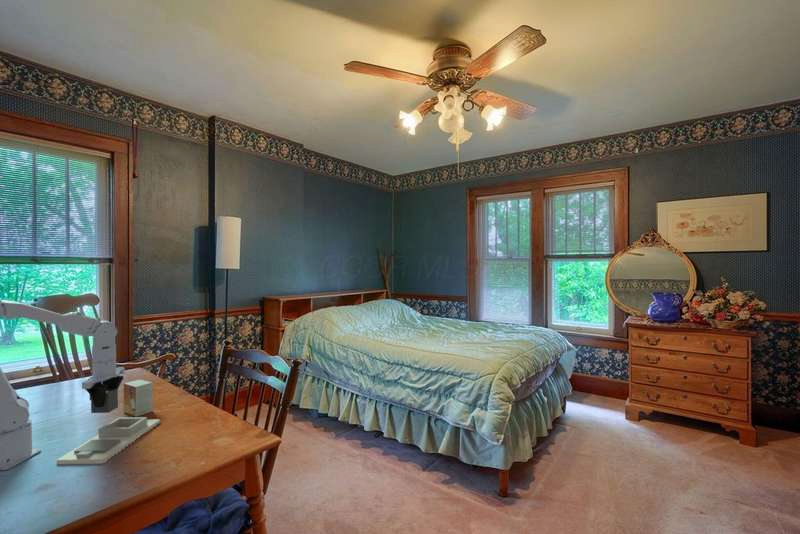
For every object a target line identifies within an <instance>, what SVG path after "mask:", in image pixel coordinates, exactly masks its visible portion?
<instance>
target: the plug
mask: <svg viewBox="0 0 800 534" xmlns="http://www.w3.org/2000/svg"><path fill="white" fill-rule="evenodd" d="M118 390H119V388H113V389H107V390H106V394H105V403H104V406H103V407H95V405H94V402H93V400H92V398H91V396H90V395H89V401H90V411H91V412H90V413H91V414H104V413H106V414H107V413H108V414H109V413H111V412H112V411H114V410H115V409H118V408H119V398H118V396H119V395H118V394H119V392H118Z"/></svg>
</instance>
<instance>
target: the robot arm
mask: <svg viewBox="0 0 800 534" xmlns="http://www.w3.org/2000/svg"><path fill="white" fill-rule="evenodd" d="M3 317H5V318H4V319H5V321H8V320H14V319H19V318H20V319H22V318H23V319H27V320H32V321H37V322H41V323H46V324H50V325H51V324H52V325H55V326H58V328H59V330H60V331H61V332H65V333H69V334H72V335H77V336H82V337H84V338H85V337H86V338H89V337H92V347H91V361H92V363H91V367H92V369H91V370H92V373H91V374H92V375H91V376H90V377H88V378H87V379H86V380H84V381H81V389H82V390H85V391H86V392H87V393H88V394H89V397H90V396H91V398H92V400H93V402H94V405H95V407H103V406H104V403H105V394H106V390H107V389H113V388H118V389H119V387H120V386H121V383H122V382H123V380H124V376H123V374H125V371H126V370H125V369H126V368H125V366H124V367H123V366H119V367H117V344H116V337H117V334H118V332H119V330H118V329H117V326H116V325H115V324H114V323H112V322H111V321H109V320H106V319H102V318H101V317H99V316H97V317H92V316H87V315H85V314H83V312H81V311H76V312H74V311H73V312H72V311H70V312H67V313H65V314H61V313H58V312H54V311H51V310H48V309H45V308H40V307H38V306H33V305H30V304H28V303H24V302H17V301H13V300H8V299H7V300H6V299H2V300H0V320H1V319H2V318H3ZM29 407H30V404H29V402H28V400H27V399H25V398H23V397H21V396H20V395H19V394H18V393H17V391H16V390H15V389H14V388H13V387H12V385H11V383H10V381H9V380H8V378H7V376H6V375H5V373H4V371H3V369H2V368H1V367H0V471H7V470H10V469H11V468H13V467H15V466H17V465H19V464H20V463H23V462H24V461H26V460H27V459H29V458H31V457H33V456H35V455H37V454H38V453H40V452H42V449H41V448H39V449H38V448H36V449H33V433H32V432H33V431H32V429H33V427H32V421H33V420H32V419H30V412H29Z"/></svg>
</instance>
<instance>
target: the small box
mask: <svg viewBox="0 0 800 534" xmlns="http://www.w3.org/2000/svg"><path fill="white" fill-rule="evenodd" d="M153 387H154V385H153V382H151V381H147V380H144V379H136V380H132V381H128V382H125V383H123V413H125V414H128V415H130V416H131V417H132V416H133V417H134V416H135V417H137V416H138V417H140V415H141V416H143V415H146V414H149V413H152V412H153V410H154V409H153V407H154V405H153V401H154V400H153V399H154V397H153Z"/></svg>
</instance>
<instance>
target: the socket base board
mask: <svg viewBox="0 0 800 534" xmlns="http://www.w3.org/2000/svg"><path fill="white" fill-rule="evenodd" d="M158 423H159V424H161V419H159V418H158V419H149V418H148V416H141V417H140V416H138V417H134V416H133V417H132V416H129V417H127V416H126V417H117V418H115V419H113V420H111V421H110V422H108V423H107V424H104V426H102V427H100V428H98V431H97V432H98V434H97V435H96V436H94V437H91V438H90V439H89V440H87V441H85V442H83V443H82V444H80V445H79V446H78V447H76V448H75V449H73V450H71V451H69V452H67V453H65V454H64V455H62V456H61V457H60V458H57V459H56V465H88V464H89V465H90V464H91V465H93V464H94V465H97V464H98V465H99V464H102V463H104V464H105V463H106V462H108V461H109V460H110V458H111V457H112V456H113V457H114V455H115V454H116V455H117V454H119V453H120V452H122V451H123V450H124V449H125V447H126V446H127V447H128V445H129V444H130V445H131V444H132V442H133V443H134V442H135V440H136V439H137V438H138V439H140V438H141V437H142V436H141V435H143V434H144V433H145V434H147V433H148V432H150V431H151V430H152V429H154V428H155V427H156V426H157V424H158ZM159 424H158V425H159ZM153 427H154V428H153ZM150 429H151V430H150ZM147 431H148V432H147ZM146 432H147V433H146ZM145 434H144V435H145ZM144 435H143V436H144ZM140 436H141V437H140ZM139 437H140V438H139ZM138 439H137V440H138ZM137 440H136V441H137ZM130 445H129V446H130ZM127 447H126V448H127ZM122 449H123V450H122ZM121 450H122V451H121ZM118 452H119V453H118ZM116 455H115V456H116ZM113 457H112V458H113ZM112 458H111V459H112ZM108 459H109V460H108ZM107 460H108V461H107ZM102 465H103V464H102Z"/></svg>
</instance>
